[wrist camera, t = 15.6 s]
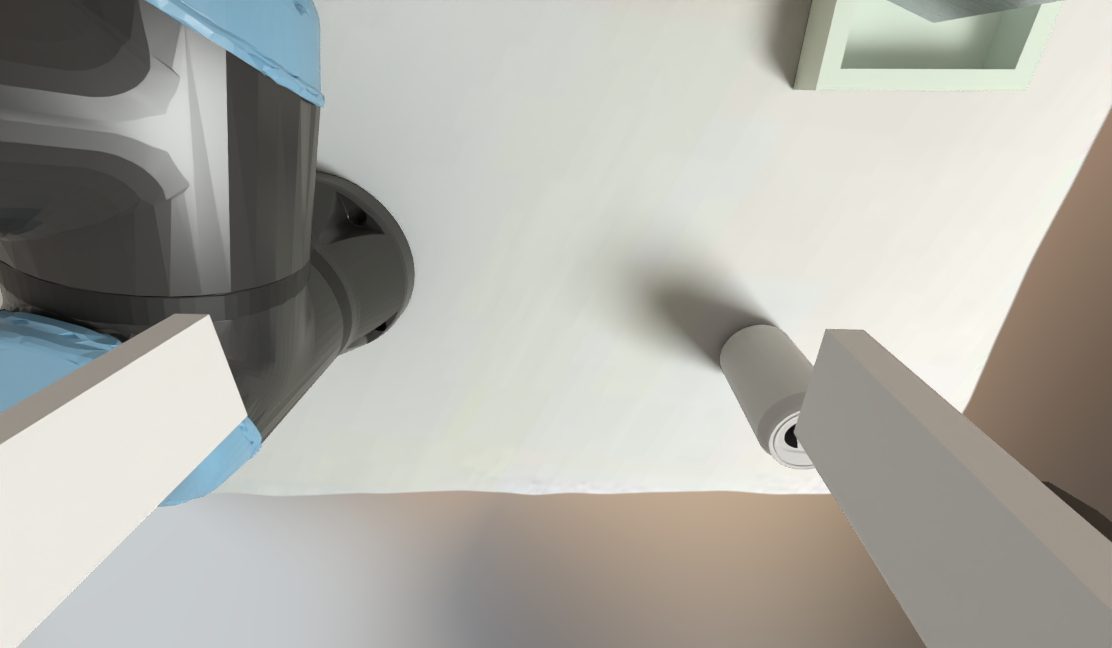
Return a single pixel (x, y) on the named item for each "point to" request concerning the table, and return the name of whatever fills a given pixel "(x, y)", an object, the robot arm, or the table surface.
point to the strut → (961, 7)
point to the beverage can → (769, 388)
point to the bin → (920, 48)
